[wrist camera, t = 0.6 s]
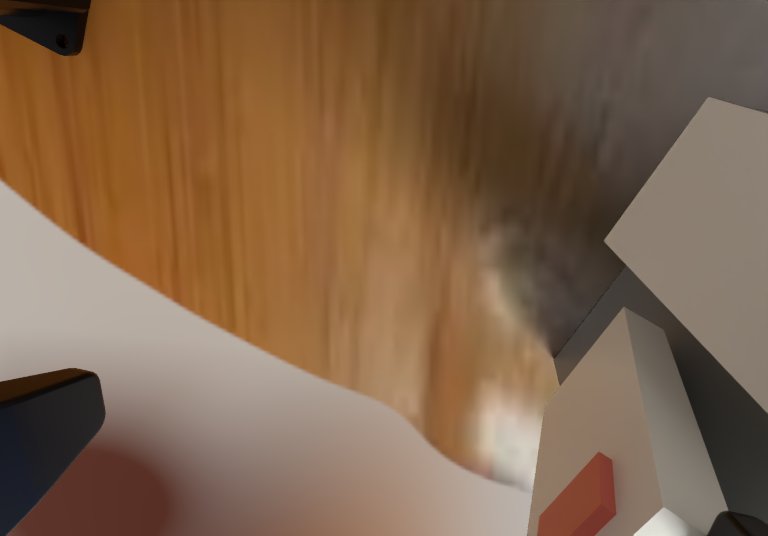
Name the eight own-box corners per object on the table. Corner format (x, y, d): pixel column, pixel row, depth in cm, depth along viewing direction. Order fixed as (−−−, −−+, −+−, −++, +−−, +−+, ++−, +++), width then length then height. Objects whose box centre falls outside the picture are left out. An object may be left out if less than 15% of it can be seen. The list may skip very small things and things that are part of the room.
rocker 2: (537, 400, 16) (497, 638, 9) (615, 301, 14) (645, 495, 7) (579, 427, 16) (574, 695, 8) (663, 329, 14) (746, 560, 7)
